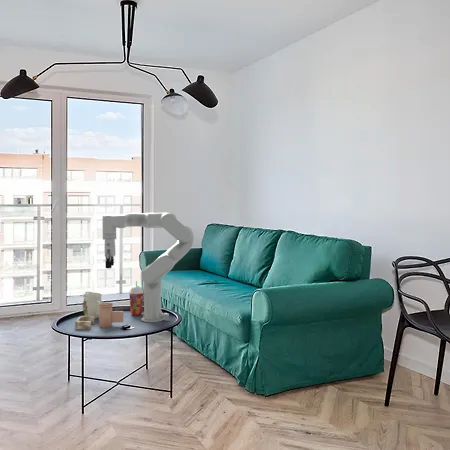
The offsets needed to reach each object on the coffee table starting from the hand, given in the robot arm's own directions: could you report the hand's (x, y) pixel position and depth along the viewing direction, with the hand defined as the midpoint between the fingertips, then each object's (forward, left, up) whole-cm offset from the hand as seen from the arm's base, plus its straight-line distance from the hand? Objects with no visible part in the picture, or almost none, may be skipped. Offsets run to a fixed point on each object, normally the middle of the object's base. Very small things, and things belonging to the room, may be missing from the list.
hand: (109, 266), depth 286 cm
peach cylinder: (-2, +13, -30) cm, 33 cm away
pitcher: (+10, -4, -31) cm, 32 cm away
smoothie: (-14, -10, -31) cm, 35 cm away
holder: (+12, +13, -30) cm, 35 cm away
